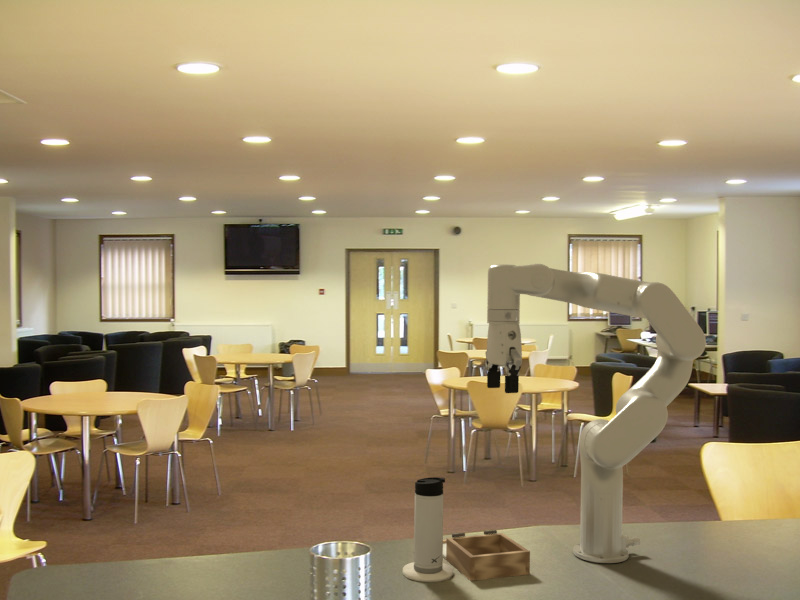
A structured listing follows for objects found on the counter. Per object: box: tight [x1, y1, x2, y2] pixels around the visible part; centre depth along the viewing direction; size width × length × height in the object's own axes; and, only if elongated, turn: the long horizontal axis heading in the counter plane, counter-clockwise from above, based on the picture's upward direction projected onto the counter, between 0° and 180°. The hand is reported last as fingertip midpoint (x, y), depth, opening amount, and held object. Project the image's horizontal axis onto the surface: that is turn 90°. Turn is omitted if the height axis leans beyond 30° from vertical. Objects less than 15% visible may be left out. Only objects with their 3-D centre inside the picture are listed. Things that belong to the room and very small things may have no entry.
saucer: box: [402, 561, 454, 583], centre depth 179 cm, size 11×11×1 cm
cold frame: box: [443, 529, 531, 582], centre depth 189 cm, size 14×25×6 cm, turn 18°
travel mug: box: [413, 476, 446, 574], centre depth 179 cm, size 6×7×20 cm
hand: (502, 390), depth 193 cm, fingers open, 9 cm apart
